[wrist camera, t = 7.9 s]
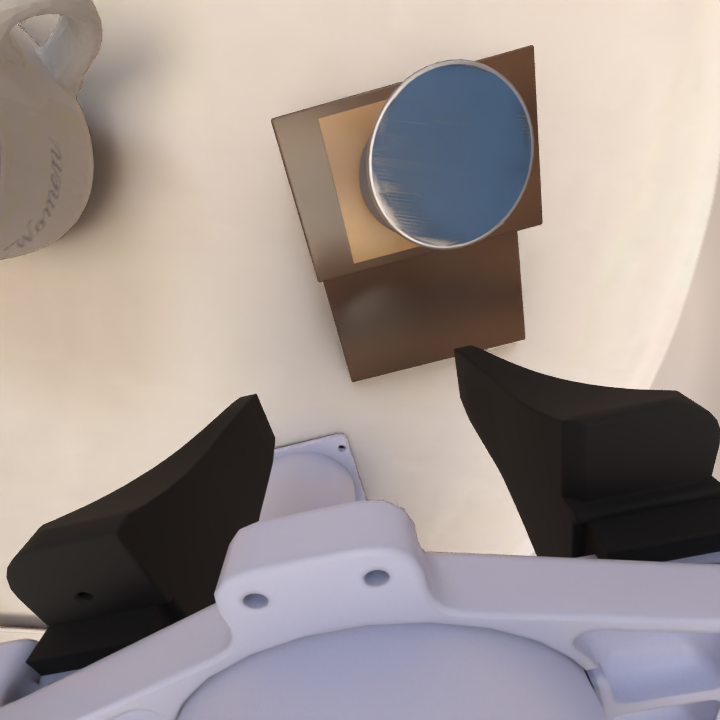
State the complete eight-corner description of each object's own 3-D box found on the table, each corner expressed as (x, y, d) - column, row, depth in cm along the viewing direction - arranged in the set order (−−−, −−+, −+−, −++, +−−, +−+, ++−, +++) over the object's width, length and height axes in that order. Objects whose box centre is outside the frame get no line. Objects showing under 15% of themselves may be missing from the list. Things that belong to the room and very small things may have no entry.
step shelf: (517, 333, 24) (551, 358, 20) (351, 374, 25) (354, 406, 21) (495, 74, 19) (537, 41, 15) (282, 134, 19) (269, 117, 15)
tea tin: (480, 219, 17) (539, 227, 12) (372, 248, 18) (387, 267, 12) (465, 90, 15) (530, 35, 10) (344, 124, 16) (348, 86, 10)
